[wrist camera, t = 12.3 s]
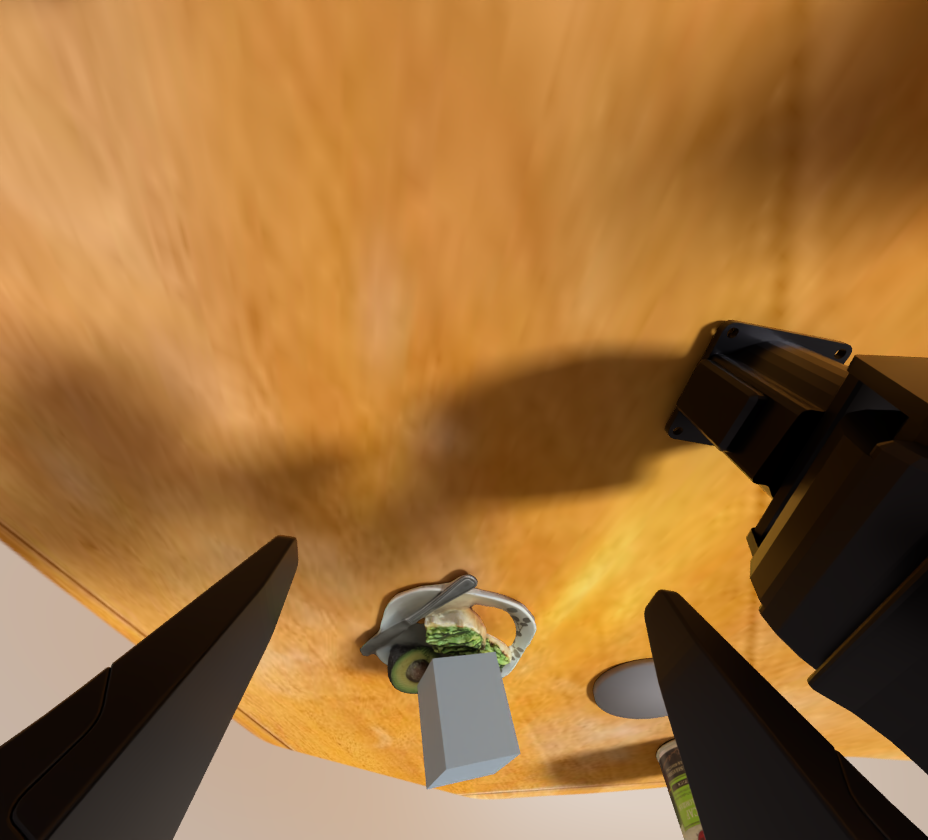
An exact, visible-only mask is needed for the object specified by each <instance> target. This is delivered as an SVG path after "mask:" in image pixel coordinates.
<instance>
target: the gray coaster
mask: <svg viewBox="0 0 928 840" xmlns="http://www.w3.org/2000/svg"><path fill="white" fill-rule="evenodd" d="M593 693H594V698H595V702H596V704H597V705H598V706H599V708H601V709H602V710H603V711H605V712H607V713H609V714H611V715H615V716H618V717H623V718H631V719H650V718H658V717H664V716H668V714H667V711H666V708H665V704H664V701H663V698H662V694H661V691H660V687H659V684H658V680H657V675H656V671H655V666H654V661H653V658H651V659H641V660H636V661H631V662H628V663H624V664H621V665H619V666H616V667H614V668H612V669H610V670H608V671H607V672H605V673H604V674H602V675H601V676H600V677H599V678H598V679H597V681H596V682H595V684H594V687H593Z"/></svg>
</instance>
